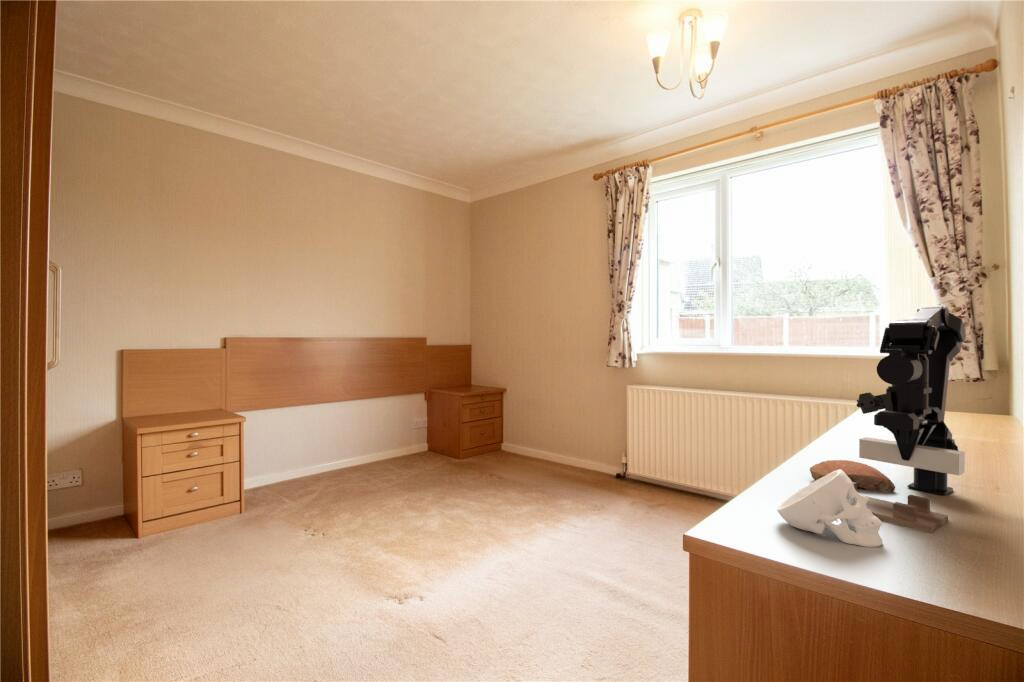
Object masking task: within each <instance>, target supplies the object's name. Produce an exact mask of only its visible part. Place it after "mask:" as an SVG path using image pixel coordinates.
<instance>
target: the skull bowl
mask: <svg viewBox="0 0 1024 682" xmlns="http://www.w3.org/2000/svg"><path fill="white" fill-rule="evenodd" d="M862 495H863V494H860V493H859V492H858V491H856V490H855V488H854V485H853V483H852V481H851V479H850V478H849V477H848V476H847V475H846V474H845V472H844V471H842V470H841V469H839V470H836V471H833V472H831V473H829V474H827V475H826V476H824V477H822V478H820V479H818V480H816V481H815V480H814V481H812V482H811V483H809V484H808V485H806V486H804V487H803V488H801V489H799V490H798V491H796V492H795V493H794V494H793V495H791V496H789V497H787V499H786V500H784V501H782V503H780V505H778V507H777V509H776V511H777V513H778V514H779V515H780V517H781V518H782V519H783V520H784V521H785V522H786V523H788V524H789V525H790V526H792V527H794V528H796V529H799V530H803V531H806V532H813V533H815V534H817V535H821V534H824V530H826V529H828V530H830V531H832V532H833V533H834V534H835V536H836V537H837V539H839V540H840V541H841V542H842V543H845V544H849V545H856V546H861V547H867V548H878V547H880V546H882V545H883V541H884V540H883V538H882V537H881V536H880V533H879V531H880V529H881V527H882V526H883V523H882V520H879V519H878V518H877V517H876V516H874V515H873V514H872V512H871V511H870V510H867V507H866V503H867V501H868V499H869V498H867V497H865V496H866V495H863V496H862ZM850 504H851V505H850ZM838 519H839V520H840V524H835V523H833V522H835V521H836V522H837V523H839V520H838Z"/></svg>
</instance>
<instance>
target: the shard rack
mask: <svg viewBox="0 0 1024 682" xmlns="http://www.w3.org/2000/svg"><path fill="white" fill-rule="evenodd" d="M852 483H853V485H854V488H855V490H856V491H857V490H858V487H857V483H855V482H852ZM857 492H858V491H857ZM861 495H862V496H865V497H867V498H869V499H868V501H867V503H866V507H867V510H870V511H871V512H872V514H873V515H874V516H876V517H877V518H878V519H879V520H880V521H883V522H888V523H892V524H895V525H899V526H903V527H907V528H909V529H910V528H911V529H914V530H918V531H921V532H924V533H929V534H932V533H933V532H934V531H936V530H937V529H939V528H940V527H942V526H943V525H945V523H947V522H949V515H948V514H944V513H939V512H935V511H932V510H931V498H928V497H924V496H920V495H919V496H918V495H914V494H909V495H907V503H903V502H900V501H899V502H898V501H895V502H892V501H888V500H885V499H884V500H883V499H880V498H875V497H871V496H868V495H863V494H861ZM850 505H851V504H850Z"/></svg>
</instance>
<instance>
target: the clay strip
mask: <svg viewBox="0 0 1024 682" xmlns="http://www.w3.org/2000/svg"><path fill="white" fill-rule="evenodd" d="M858 444H859V456H858V457H859V459H866V460H870V461H876V462H881V463H888V464H893V465H899V466H903V467H910V468H913V469H914V468H920V469H925V470H931V471H936V472H942V473H947V475H952V476H953V475H954V476H961V475H963V474H965V471H966V470H965V468H966V467H965V465H966V464H965V462H966V460H965V458H966V457H965V456H966V455H965V454H966V453H965V451H960V450H958V451H956V450H949V449H942V448H936V447H929V446H922V445H916V448H915V450H914V452H913V454H912V456H911V458H910V460H909V461H907V460H903V459H902V458H901V455H900V452H899V449H898V446H897V443H896V440H895V441H894V440H889V439H887V440H886V439H881V438H874V437H867V436H866V437H862V438H859V443H858Z"/></svg>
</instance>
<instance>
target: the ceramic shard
mask: <svg viewBox="0 0 1024 682" xmlns="http://www.w3.org/2000/svg"><path fill="white" fill-rule="evenodd" d="M839 469H841V470H842V471H844V472H845V474H846V475H847V476H848V477H849V478H850V479H851V481H852V482H855V483H857V488H863V489H865V490H874V491H879V492H886V493H887V492H888V493H893V492H894V491H895V489H896V486H895V484H894V483H893V481H892V480H891V479H890V477H888V476H886V475H885V474H884V473H883V472H881V471H880V470H878V469H877V468H875V467H873V466H871V465H868V464H866V463H863V462H859V461H853V460H847V459H843V460H842V459H835V460H829V459H828V460H825V461H821V462H819V463H816V464H814V465H812V466H810V467H809V472H810V474H811V478H812V479H813V480H814V481H816V480H818V479H820V478H822V477H824V476H826V475H827V474H829V473H831V472H833V471H836V470H839Z"/></svg>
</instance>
